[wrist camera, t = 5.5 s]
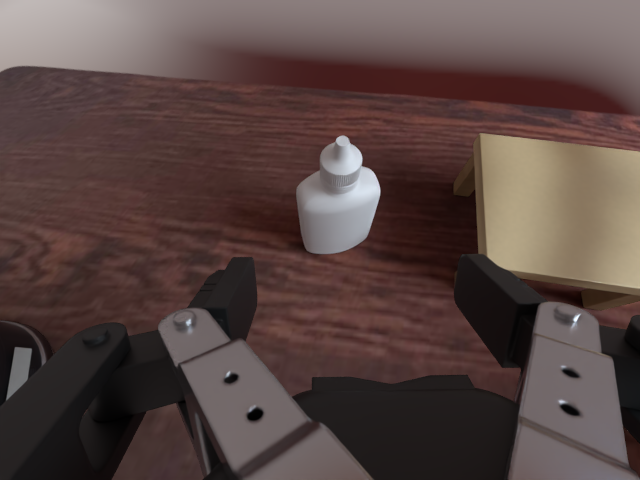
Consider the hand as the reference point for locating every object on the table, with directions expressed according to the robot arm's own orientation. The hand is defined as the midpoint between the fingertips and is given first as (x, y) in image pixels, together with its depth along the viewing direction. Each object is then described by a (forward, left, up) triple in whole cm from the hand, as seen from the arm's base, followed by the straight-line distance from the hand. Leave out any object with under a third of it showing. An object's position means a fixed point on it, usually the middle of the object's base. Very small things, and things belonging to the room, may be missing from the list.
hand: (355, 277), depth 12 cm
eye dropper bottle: (-1, +8, -13) cm, 16 cm away
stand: (+15, +10, -13) cm, 22 cm away
